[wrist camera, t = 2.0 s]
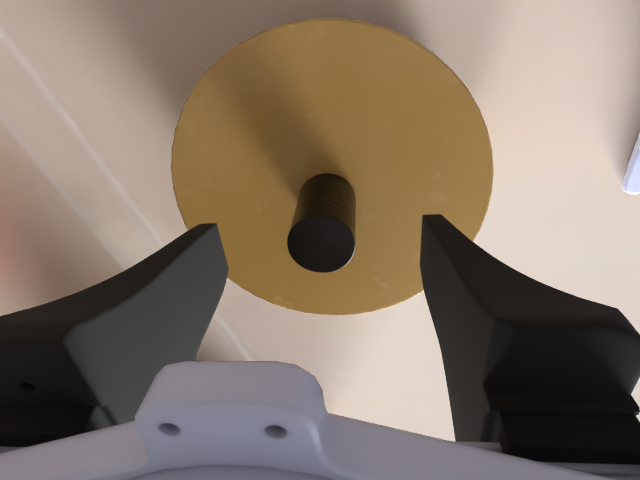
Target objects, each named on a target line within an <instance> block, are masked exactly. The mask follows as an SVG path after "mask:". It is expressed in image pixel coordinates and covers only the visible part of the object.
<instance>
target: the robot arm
mask: <svg viewBox="0 0 640 480" xmlns="http://www.w3.org/2000/svg"><path fill="white" fill-rule="evenodd" d="M621 187H622V189H623V190H624V191H625V192H627V193H628V194H640V132H639V135H638V138H637V141H636V144H635V147H634V150H633V153H632V156H631V158H630V161H629V164H628V167H627V170H626V173H625V176H624V179H623V182H622V186H621ZM420 270H421V277H422V283H423V289H424V293H425V296H426V299H427V303H428V306H429V310H430V313H431V316H432V320H433V323H434V327H435V330H436V333H437V337H438V340H439V344H440V348H441V352H442V358H443V364H444V369H445V375H446V381H447V387H448V393H449V400H450V406H451V412H452V419H453V426H454V433H455V440H456V442H454V441H447V440H443V439H438V438H434V437H430V436H425V435H421V434H417V433H413V432H408V431H404V430H400V429H395V428H391V427H387V426H382V425H378V424H374V423H370V422H365V421H361V420H357V419H352V418H348V417H344V416H339V415H335V414H331V413H328V412H327V411H326V408H325V405H324V399H323V391H322V389H321V387H320V385H319V383H318V381H317V380H316V378H315V376H313V375H312V374H310V373H309V372H307V371H305V370H304V369H302V368H300V367H299V366H297V365H294V364H288V363H283V362H277V361H195V358H196V355H197V352H198V349H199V347H200V344H201V341H202V339H203V337H204V335H205V332H206V330H207V328H208V325H209V323H210V321H211V319H212V316H213V314H214V312H215V310H216V307H217V305H218V303H219V300H220V298H221V296H222V293H223V290H224V287H225V283H226V279H227V275H228V271H229V267H228V264H227V260H226V256H225V252H224V249H223V245H222V241H221V237H220V233H219V230H218V226H217V223H203V224H199V225H197V226H195V227H193V228H192V229H190V230H188V231H187V232H185V233H184V234H182V235H181V236H179V237H178V238H176V239H175V240H173V241H172V242H171V243H169V244H168V245H166V246H165V247H163V248H162V249H160V250H159V251H157V252H155V253H154V254H152V255H151V256H149V257H147V258H146V259H144V260H142V261H141V262H139V263H138V264H136V265H134V266H132V267H131V268H129V269H127V270H125V271H123V272H121V273H119V274H117V275H115V276H113V277H112V278H109V279H107V280H105V281H103V282H101V283H98V284H96V285H94V286H91V287H89V288H87V289H84V290H82V291H80V292H77V293H75V294H72V295H69V296H66V297H64V298H61V299H58V300H55V301H52V302H49V303H46V304H43V305H39V306H36V307H33V308H29V309H25V310H22V311H18V312H14V313H11V314H7V315H3V316H0V480H640V422H639V420H638V419H637V417H636V416H635V415H638V414H639V412H640V410H639V406H638V405H637V403H636V402H635V400H634V399H633V397H632V396H631V393H632V391H633V389H634V387H635V385H636V383H637V381H638V379H639V377H640V335H639V333H638V332H637V331H636V330H635V328H634V327H633V326H632V324H631V323H630V322H629V321H628V320H627V318H626V317H625V316H624V315H623V314H622V313H621V312H620V311H619V310H618V309H617V308H613V307H610V306H607V305H603V304H600V303H596V302H593V301H589V300H586V299H582V298H579V297H576V296H574V295H571V294H568V293H565V292H563V291H560V290H557V289H555V288H552V287H550V286H547V285H545V284H543V283H541V282H538V281H536V280H534V279H532V278H530V277H528V276H526V275H524V274H522V273H520V272H518V271H516V270H514V269H513V268H511V267H509V266H507V265H506V264H504V263H502V262H501V261H499V260H497V259H496V258H494V257H493V256H491V255H490V254H489V253H487V252H486V251H484V250H483V249H482V248H480V247H479V246H478V245H476V244H475V243H474V242H472V241H471V240H470V239H469V238H468V237H466V236H465V235H464V234H463V233H462V232H461V231H459V230H458V229H457V228H456V227H455V226H454V225H453V224H452V223H451V222H449V221H448V220H447V219H446V218H445V217H444V216H443V215H442V214H429V215H422V231H421V249H420Z"/></svg>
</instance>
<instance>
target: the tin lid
mask: <svg viewBox="0 0 640 480" xmlns="http://www.w3.org/2000/svg"><path fill="white" fill-rule="evenodd" d="M171 170H172V180H173V188H174V192H175V196H176V200H177V204H178V207H179V210H180V213H181V215H182V218H183V220H184V223H185V225H186V226H187V228H188V230H190V229H192V228H193V227H195V226H197V225H199V224H203V223H217V226H218V230H219V233H220V237H221V241H222V245H223V249H224V252H225V256H226V260H227V264H228V267H229V271H228V275H227V277H228V278H229V279H231V280H232V281H233V282H235V283H236V284H237V285H239V286H240V287H242V288H243V289H245V290H247V291H249V292H250V293H252V294H254V295H255V296H257V297H260V298H262V299H264V300H266V301H268V302H271V303H273V304H276V305H279V306H282V307H285V308H288V309H292V310H297V311H301V312H306V313H313V314H321V315H349V314H359V313H365V312H371V311H375V310H379V309H383V308H387V307H390V306H392V305H395V304H398V303H400V302H403V301H405V300H407V299H409V298H411V297H413V296H415V295H417V294H419V293H421V292H422V291H424V289H423V283H422V277H421V270H420V249H421V231H422V215H429V214H442V215H443V216H444V217H445V218H446V219H447V220H448V221H449V222H451V223H452V224H453V225H454V226H455V227H456V228H457V229H458V230H459V231H461V232H462V233H463V234H464V235H465V236H466V237H468V238H469V239H470V240H471V241H472V242H473V241H474V239H475V237H476V235H477V233H478V232H479V230H480V228H481V225H482V223H483V220H484V218H485V215H486V212H487V210H488V205H489V201H490V197H491V192H492V182H493V157H492V148H491V144H490V139H489V135H488V130H487V127H486V125H485V122H484V120H483V117H482V115H481V112H480V110H479V108H478V106H477V104H476V102H475V101H474V99H473V97H472V96H471V94H470V92H469V90H468V89H467V88H466V86H465V85H464V84H463V83H462V81H461V80H460V79H459V78H458V77H457V75H456V74H455V73H454V72H453V70H452V69H450V68H449V67H448V66H447V65H446V64H445V63H444V62H443V61H442V60H440V59H439V58H438V57H437V56H436V55H435V54H434V53H433V52H431V51H430V50H428V49H427V48H425V47H424V46H422V45H421V44H419V43H418V42H416V41H414V40H413V39H411V38H409V37H407V36H405V35H403V34H400V33H398V32H396V31H394V30H392V29H389V28H387V27H383V26H380V25H376V24H373V23H369V22H365V21H360V20H352V19H344V18H312V19H306V20H300V21H295V22H289V23H285V24H282V25H279V26H277V27H274V28H271V29H268V30H265V31H263V32H261V33H259V34H257V35H255V36H253V37H251V38H249V39H247V40H245V41H243V42H241V43H240V44H238V45H237V46H236V47H234V48H233V49H231V50H230V51H229V52H227V53H226V54H225V55H223V56H222V57H221V58H220V59H219V60H218V61H217V62H216V63H215V64H214V65H213V66H212V67H211V68H210V69H209V70H208V71H207V72H206V73H205V74H204V75H203V77H202V78H201V79H200V81H199V82H198V83H197V85H196V86H195V87H194V89H193V90H192V92H191V94H190V96H189V98H188V99H187V101H186V103H185V105H184V107H183V109H182V112H181V115H180V118H179V121H178V123H177V126H176V129H175V135H174V140H173V146H172V163H171Z"/></svg>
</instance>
